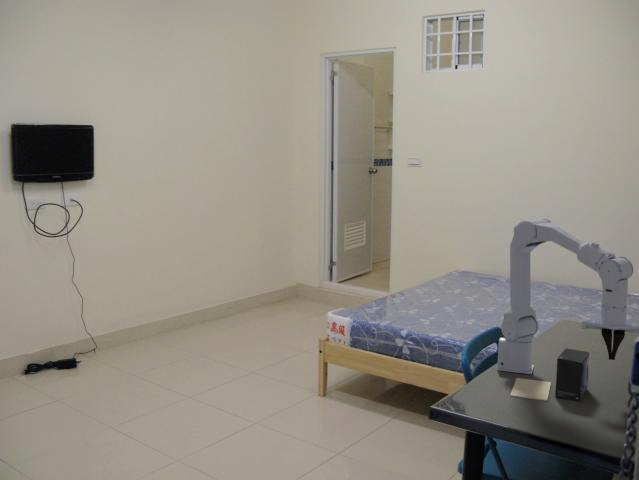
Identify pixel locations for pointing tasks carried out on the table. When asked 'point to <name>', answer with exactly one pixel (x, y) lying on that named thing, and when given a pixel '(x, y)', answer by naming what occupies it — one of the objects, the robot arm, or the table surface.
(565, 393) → the small box
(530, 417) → the table surface
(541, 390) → the mat
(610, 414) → the table surface
